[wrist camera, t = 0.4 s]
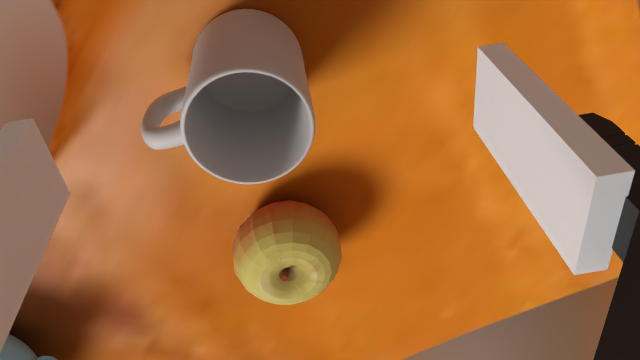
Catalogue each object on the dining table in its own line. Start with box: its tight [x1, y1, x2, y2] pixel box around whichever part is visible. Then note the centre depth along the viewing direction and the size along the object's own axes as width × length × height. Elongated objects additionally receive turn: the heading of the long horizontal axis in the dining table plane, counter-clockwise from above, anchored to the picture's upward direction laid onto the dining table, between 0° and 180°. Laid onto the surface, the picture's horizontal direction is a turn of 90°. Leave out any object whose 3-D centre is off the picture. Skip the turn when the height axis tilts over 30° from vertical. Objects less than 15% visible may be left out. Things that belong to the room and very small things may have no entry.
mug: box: [141, 9, 315, 184], centre depth 38 cm, size 12×8×11 cm
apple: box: [233, 200, 342, 305], centre depth 49 cm, size 10×10×8 cm
